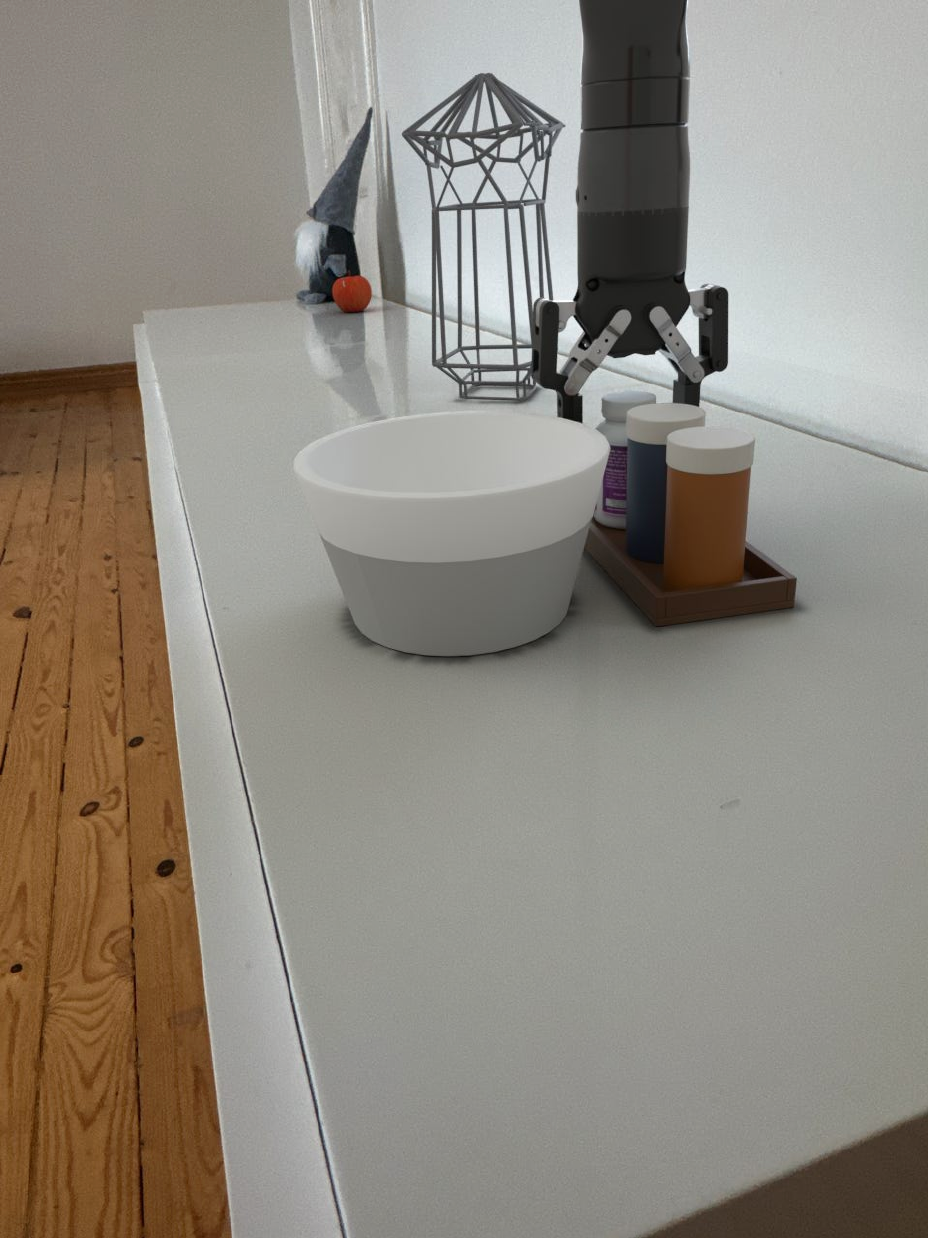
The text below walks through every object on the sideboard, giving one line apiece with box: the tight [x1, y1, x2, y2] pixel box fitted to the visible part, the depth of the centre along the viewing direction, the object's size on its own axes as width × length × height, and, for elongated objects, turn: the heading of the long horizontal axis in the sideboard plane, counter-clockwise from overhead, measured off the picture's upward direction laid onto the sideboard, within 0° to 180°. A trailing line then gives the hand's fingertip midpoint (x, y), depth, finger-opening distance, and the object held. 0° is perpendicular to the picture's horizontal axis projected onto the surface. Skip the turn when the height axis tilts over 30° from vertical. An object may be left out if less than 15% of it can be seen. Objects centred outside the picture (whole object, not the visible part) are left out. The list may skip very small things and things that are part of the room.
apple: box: [332, 269, 373, 313], centre depth 195 cm, size 8×8×8 cm
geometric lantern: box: [401, 72, 566, 402], centre depth 113 cm, size 16×16×35 cm
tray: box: [584, 514, 798, 627], centre depth 69 cm, size 9×21×2 cm, turn 12°
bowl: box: [292, 410, 610, 657], centre depth 61 cm, size 19×19×11 cm
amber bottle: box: [663, 425, 756, 592], centre depth 61 cm, size 5×5×10 cm
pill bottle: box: [594, 390, 657, 529], centre depth 73 cm, size 5×5×10 cm
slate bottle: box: [626, 402, 707, 563], centre depth 67 cm, size 5×5×10 cm
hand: (628, 436), depth 73 cm, fingers open, 8 cm apart
